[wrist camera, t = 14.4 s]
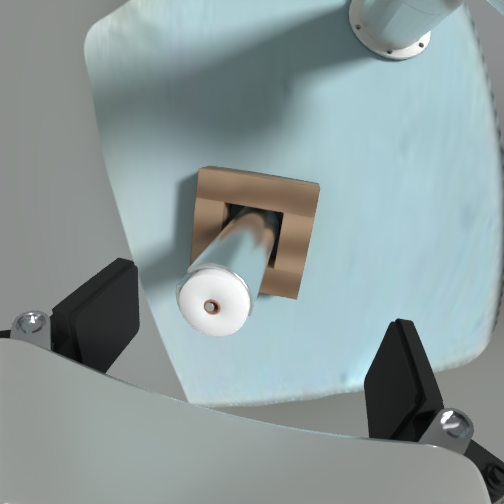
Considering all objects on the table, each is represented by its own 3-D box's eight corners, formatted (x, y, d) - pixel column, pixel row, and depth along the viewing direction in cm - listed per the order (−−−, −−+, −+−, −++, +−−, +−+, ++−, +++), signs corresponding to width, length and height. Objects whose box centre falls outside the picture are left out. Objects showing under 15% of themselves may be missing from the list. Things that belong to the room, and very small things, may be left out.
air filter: (267, 197, 46) (227, 256, 23) (285, 237, 48) (264, 329, 24) (228, 213, 48) (156, 284, 25) (246, 252, 50) (194, 349, 26)
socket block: (209, 165, 46) (199, 168, 41) (318, 183, 44) (320, 188, 40) (199, 264, 52) (189, 277, 47) (297, 284, 50) (296, 299, 45)
